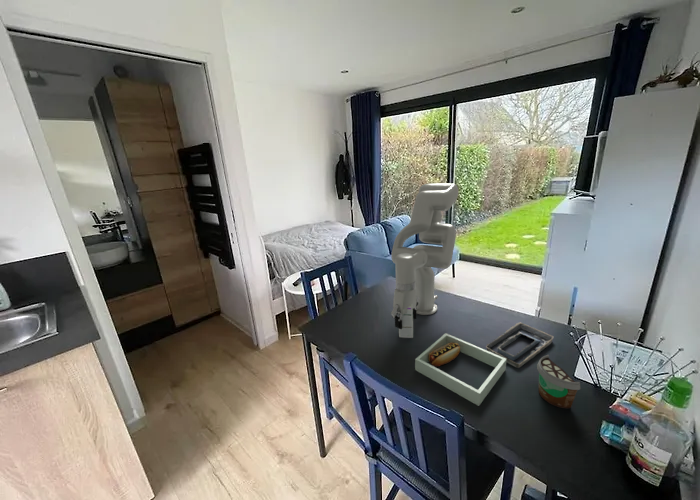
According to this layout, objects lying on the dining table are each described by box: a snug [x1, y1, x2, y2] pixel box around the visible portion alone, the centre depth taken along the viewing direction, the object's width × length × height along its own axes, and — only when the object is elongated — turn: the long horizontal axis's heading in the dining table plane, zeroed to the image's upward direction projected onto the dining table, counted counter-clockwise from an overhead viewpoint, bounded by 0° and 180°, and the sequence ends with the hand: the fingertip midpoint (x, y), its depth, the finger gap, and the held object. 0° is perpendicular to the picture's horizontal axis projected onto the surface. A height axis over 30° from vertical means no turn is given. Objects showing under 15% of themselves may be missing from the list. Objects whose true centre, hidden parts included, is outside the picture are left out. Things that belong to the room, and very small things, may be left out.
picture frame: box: [485, 321, 554, 369], centre depth 107 cm, size 13×25×3 cm, turn 124°
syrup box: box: [397, 304, 414, 339], centre depth 117 cm, size 6×6×14 cm
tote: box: [414, 333, 507, 407], centre depth 97 cm, size 20×22×4 cm
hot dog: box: [428, 343, 461, 367], centre depth 102 cm, size 5×13×5 cm, turn 120°
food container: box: [536, 354, 581, 409], centre depth 84 cm, size 12×6×10 cm, turn 5°
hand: (405, 322), depth 118 cm, fingers open, 9 cm apart
